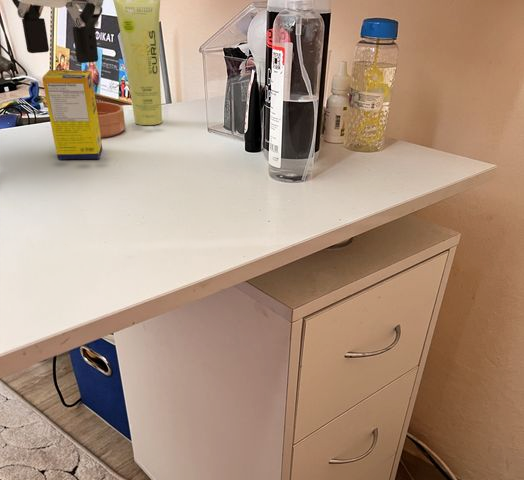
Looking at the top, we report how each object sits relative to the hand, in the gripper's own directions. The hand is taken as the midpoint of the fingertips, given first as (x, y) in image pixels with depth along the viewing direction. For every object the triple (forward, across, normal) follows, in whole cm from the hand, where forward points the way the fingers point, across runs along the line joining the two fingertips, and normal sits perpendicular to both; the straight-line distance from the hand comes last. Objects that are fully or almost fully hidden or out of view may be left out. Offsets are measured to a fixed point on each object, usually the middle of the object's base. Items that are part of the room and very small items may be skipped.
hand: (62, 57), depth 72 cm
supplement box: (+13, 0, 0) cm, 13 cm away
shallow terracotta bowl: (+13, -8, +11) cm, 19 cm away
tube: (+13, -5, +21) cm, 25 cm away
